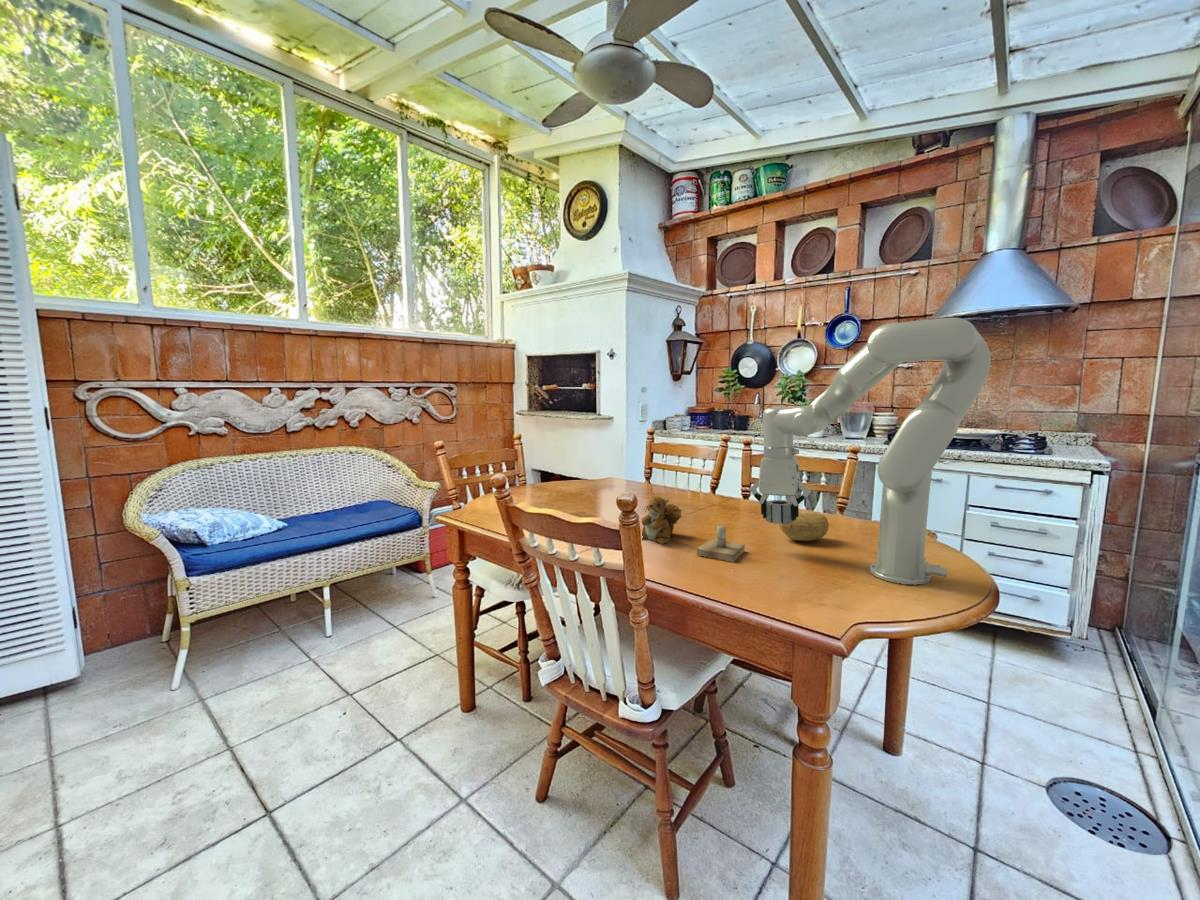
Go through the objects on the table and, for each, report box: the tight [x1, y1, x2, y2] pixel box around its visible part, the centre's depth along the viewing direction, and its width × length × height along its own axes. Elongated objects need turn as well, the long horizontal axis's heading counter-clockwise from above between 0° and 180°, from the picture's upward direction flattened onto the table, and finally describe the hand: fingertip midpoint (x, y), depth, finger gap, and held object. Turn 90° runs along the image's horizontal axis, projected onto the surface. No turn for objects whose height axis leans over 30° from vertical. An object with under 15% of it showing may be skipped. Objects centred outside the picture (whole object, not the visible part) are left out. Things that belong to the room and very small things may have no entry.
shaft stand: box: [696, 525, 746, 563], centre depth 139 cm, size 10×10×8 cm
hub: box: [765, 499, 793, 525], centre depth 139 cm, size 7×7×5 cm
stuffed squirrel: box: [641, 494, 683, 545], centre depth 154 cm, size 10×14×13 cm
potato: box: [778, 512, 830, 542], centre depth 150 cm, size 10×14×8 cm
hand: (779, 517), depth 139 cm, fingers closed on hub, 6 cm apart
